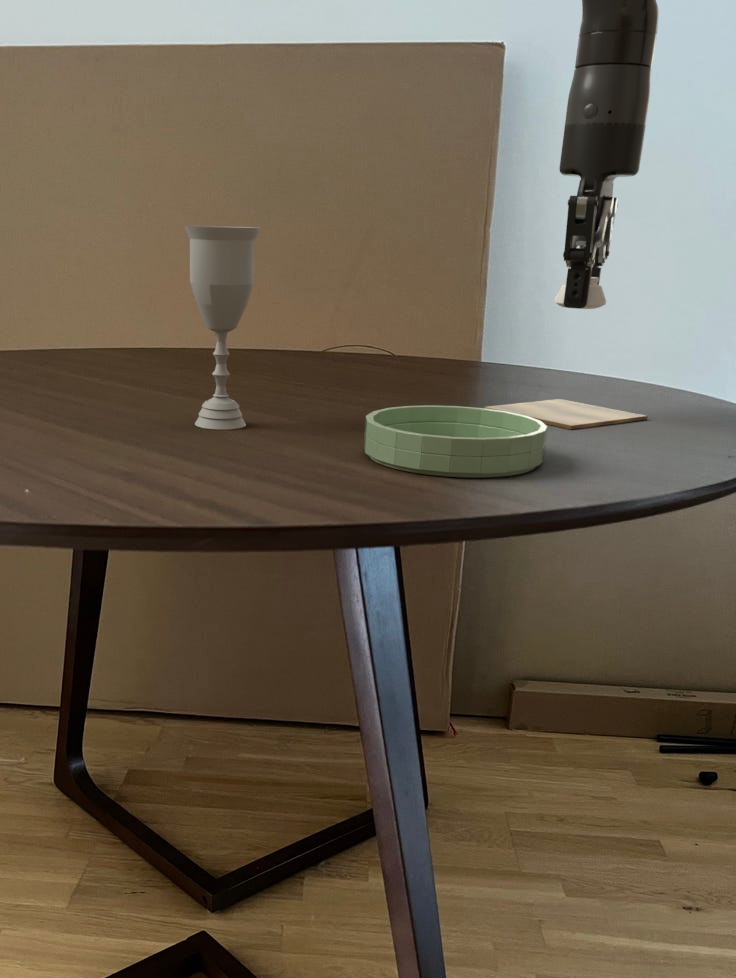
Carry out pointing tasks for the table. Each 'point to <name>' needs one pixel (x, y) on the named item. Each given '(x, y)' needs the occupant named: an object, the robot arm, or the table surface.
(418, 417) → the pan
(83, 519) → the table surface
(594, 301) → the white jar
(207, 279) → the chalice
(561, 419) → the mat
